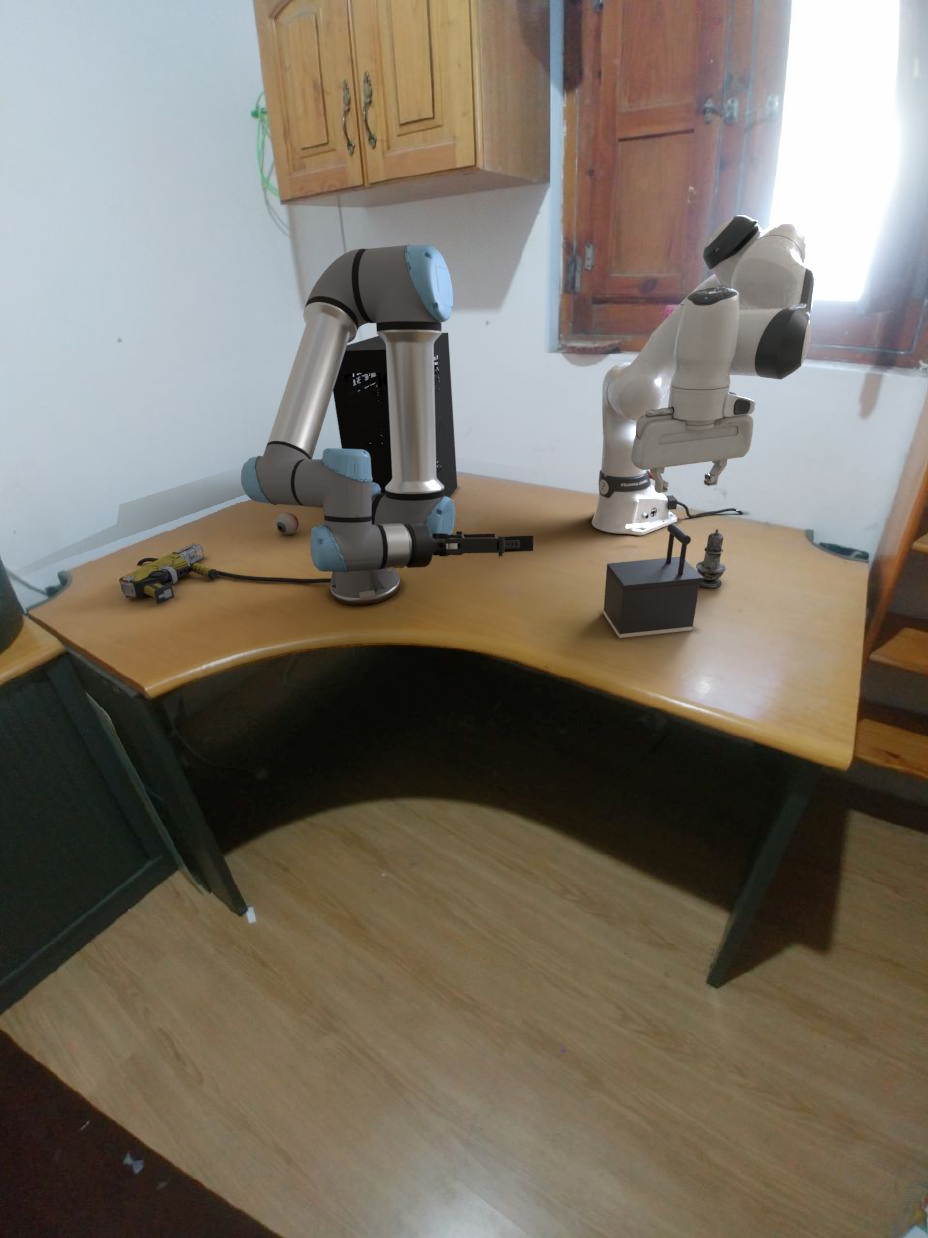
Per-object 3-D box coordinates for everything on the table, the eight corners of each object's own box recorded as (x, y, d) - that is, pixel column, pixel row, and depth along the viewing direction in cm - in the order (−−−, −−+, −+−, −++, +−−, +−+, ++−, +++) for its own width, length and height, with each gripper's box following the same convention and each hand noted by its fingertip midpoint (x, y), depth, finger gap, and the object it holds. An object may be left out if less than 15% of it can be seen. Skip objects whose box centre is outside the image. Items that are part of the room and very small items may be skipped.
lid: (680, 560, 116) (686, 518, 111) (703, 582, 107) (710, 537, 103) (606, 568, 114) (609, 525, 110) (623, 590, 106) (627, 545, 102)
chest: (671, 606, 120) (677, 561, 116) (692, 630, 112) (700, 583, 107) (603, 613, 119) (606, 568, 114) (619, 637, 111) (623, 590, 106)
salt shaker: (725, 588, 125) (735, 534, 119) (695, 587, 126) (703, 534, 120) (720, 576, 130) (730, 523, 124) (692, 575, 131) (700, 523, 125)
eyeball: (273, 537, 164) (268, 516, 161) (287, 528, 169) (282, 508, 166) (291, 539, 161) (286, 518, 158) (305, 530, 166) (301, 510, 163)
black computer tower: (424, 530, 162) (407, 348, 139) (353, 528, 166) (326, 351, 144) (457, 486, 193) (448, 332, 171) (397, 485, 198) (380, 334, 175)
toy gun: (240, 551, 148) (190, 541, 152) (168, 591, 128) (113, 578, 132) (243, 568, 150) (193, 558, 154) (172, 610, 130) (117, 597, 134)
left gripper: (381, 563, 114) (480, 557, 123) (434, 574, 92) (550, 566, 101) (380, 522, 113) (480, 520, 122) (433, 524, 91) (550, 521, 100)
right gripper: (647, 414, 92) (639, 501, 99) (765, 401, 96) (749, 486, 102) (628, 407, 97) (621, 490, 104) (740, 394, 101) (726, 476, 108)
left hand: (512, 541), depth 112 cm, fingers open, 13 cm apart
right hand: (685, 488), depth 103 cm, fingers open, 8 cm apart
